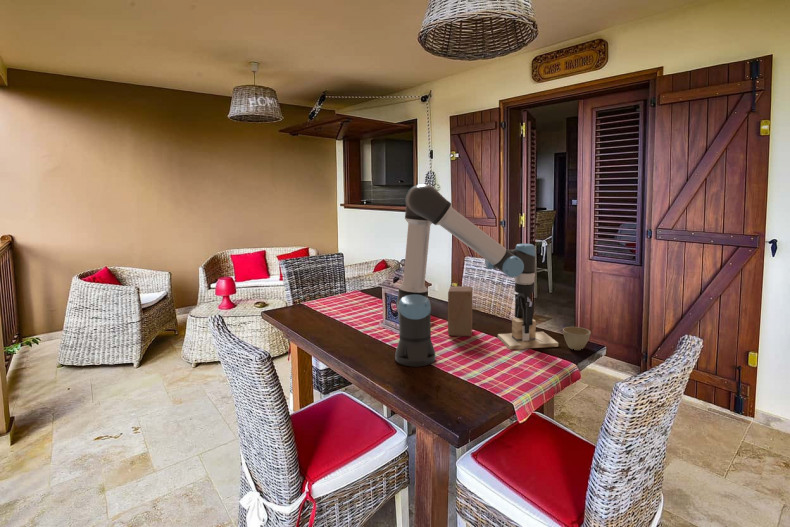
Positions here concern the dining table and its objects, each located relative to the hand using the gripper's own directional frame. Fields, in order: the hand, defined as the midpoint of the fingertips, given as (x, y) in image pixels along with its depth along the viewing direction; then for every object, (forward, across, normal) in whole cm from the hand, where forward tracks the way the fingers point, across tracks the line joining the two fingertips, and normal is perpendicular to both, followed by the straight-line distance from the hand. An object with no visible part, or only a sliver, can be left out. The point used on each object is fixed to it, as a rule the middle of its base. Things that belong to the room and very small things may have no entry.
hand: (522, 337), depth 182 cm
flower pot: (+2, -10, -18) cm, 20 cm away
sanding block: (0, 0, 0) cm, 0 cm away
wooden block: (+2, +16, +22) cm, 27 cm away
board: (+2, 0, -2) cm, 3 cm away
